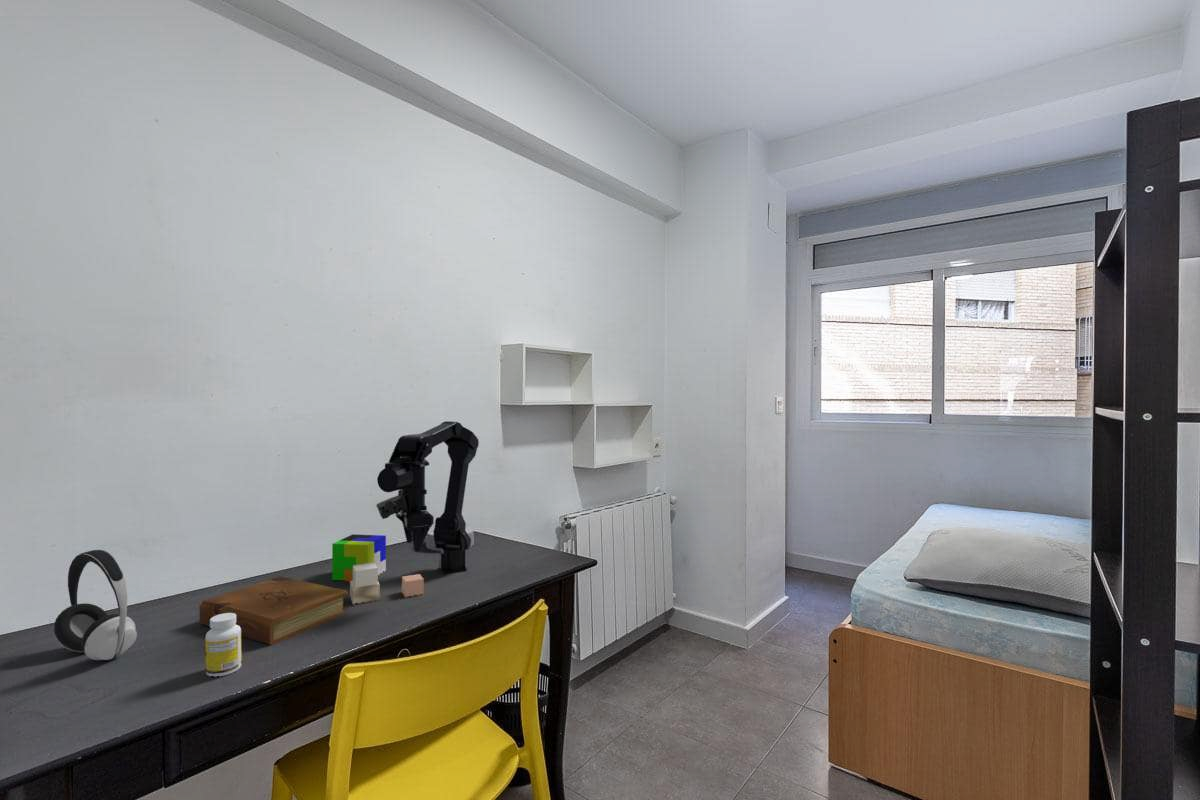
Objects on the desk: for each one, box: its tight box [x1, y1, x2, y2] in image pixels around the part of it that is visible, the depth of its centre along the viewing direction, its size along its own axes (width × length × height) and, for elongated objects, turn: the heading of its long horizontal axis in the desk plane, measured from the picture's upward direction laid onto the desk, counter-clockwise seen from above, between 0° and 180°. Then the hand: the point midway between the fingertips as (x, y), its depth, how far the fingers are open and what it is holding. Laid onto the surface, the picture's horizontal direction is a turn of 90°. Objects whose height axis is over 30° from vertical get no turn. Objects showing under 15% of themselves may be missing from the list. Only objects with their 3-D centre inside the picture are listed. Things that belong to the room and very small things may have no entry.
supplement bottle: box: [204, 613, 243, 678], centre depth 102 cm, size 5×5×10 cm
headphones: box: [53, 549, 138, 661], centre depth 107 cm, size 19×8×20 cm, turn 65°
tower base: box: [349, 581, 381, 605], centre depth 138 cm, size 6×6×4 cm
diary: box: [199, 575, 348, 646], centre depth 125 cm, size 23×19×6 cm
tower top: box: [353, 563, 379, 588], centre depth 137 cm, size 5×5×4 cm
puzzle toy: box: [331, 533, 387, 582], centre depth 155 cm, size 10×10×10 cm
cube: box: [401, 573, 425, 598], centre depth 141 cm, size 4×4×4 cm
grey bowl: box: [425, 525, 475, 552], centre depth 186 cm, size 15×15×5 cm
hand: (412, 547), depth 141 cm, fingers open, 9 cm apart
